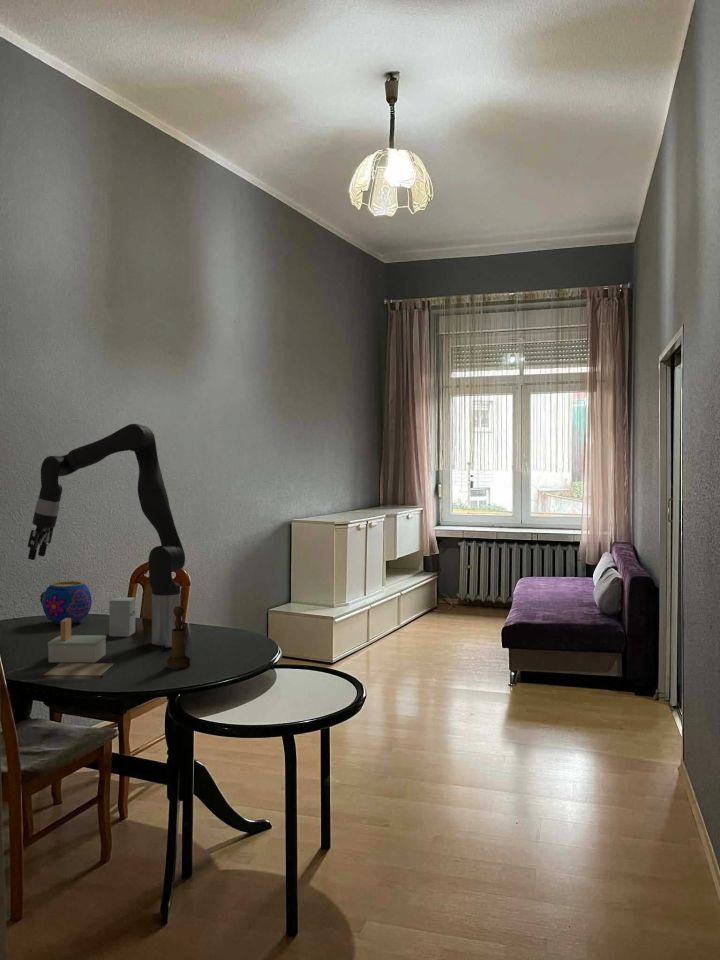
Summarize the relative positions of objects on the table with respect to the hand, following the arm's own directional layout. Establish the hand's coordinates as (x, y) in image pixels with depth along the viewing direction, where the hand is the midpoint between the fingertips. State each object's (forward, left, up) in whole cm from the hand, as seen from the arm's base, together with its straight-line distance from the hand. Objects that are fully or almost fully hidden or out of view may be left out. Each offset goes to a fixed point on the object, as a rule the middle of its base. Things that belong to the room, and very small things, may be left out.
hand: (36, 557), depth 282 cm
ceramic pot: (-3, -22, -28) cm, 35 cm away
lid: (-26, +35, -21) cm, 49 cm away
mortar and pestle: (-58, +41, -28) cm, 76 cm away
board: (-31, +48, -27) cm, 63 cm away
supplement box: (-29, -3, -28) cm, 40 cm away
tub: (-26, +35, -27) cm, 52 cm away
